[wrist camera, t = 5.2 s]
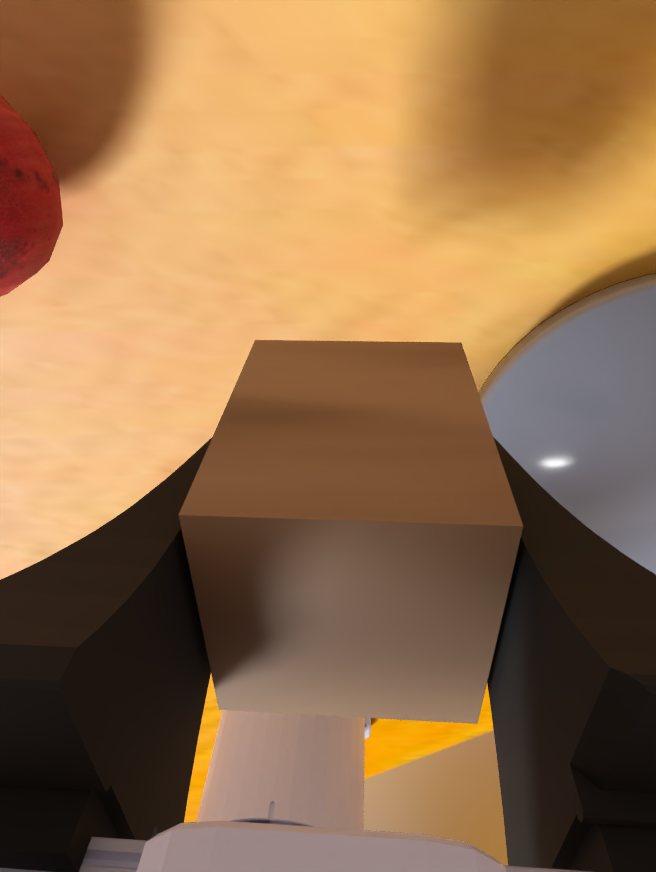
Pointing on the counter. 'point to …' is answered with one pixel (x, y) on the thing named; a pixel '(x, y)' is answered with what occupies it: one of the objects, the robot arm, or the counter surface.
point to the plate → (588, 412)
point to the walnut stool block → (352, 534)
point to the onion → (25, 202)
